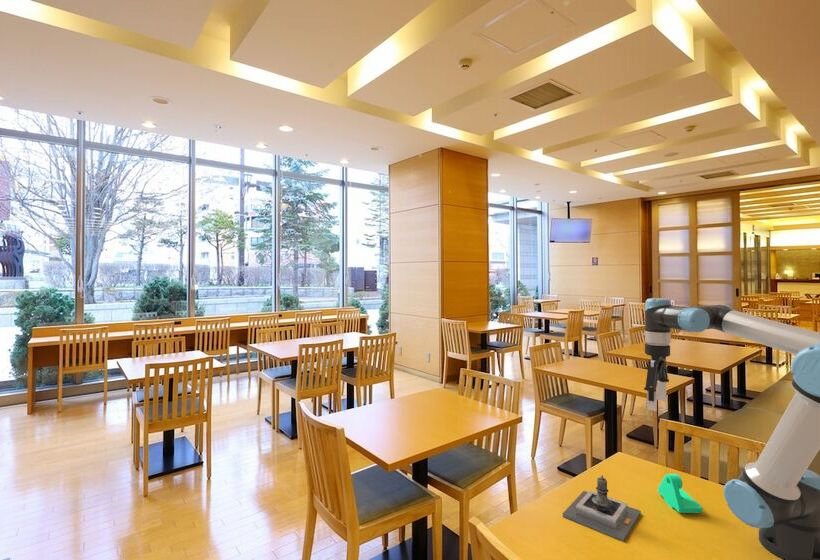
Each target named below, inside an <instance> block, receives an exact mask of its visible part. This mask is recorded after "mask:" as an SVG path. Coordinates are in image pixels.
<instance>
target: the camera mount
mask: <svg viewBox="0 0 820 560" xmlns="http://www.w3.org/2000/svg"><path fill="white" fill-rule="evenodd" d="M657 492H658V493H659V495H660V496H662V498H663V501H664V502H665V503H666V504H667V505H668V506H669V507H670V508H671V509H672V510H673V509H674V510H676V511H677V513H679V514H680V513H686V514H687V513H688V514H693V513H694V514H701V513H703V506H702V505H700V503H699V502H697V501H696V500H695V499H694V498H693V497H691V496H690V495H689V493H687V491H685V490H684V489H683V480H682V477H681V476H680V475H679V474H677V473H666V474H665V475H664V477H662V480H661V482H660V483H659V486H658V488H657Z"/></svg>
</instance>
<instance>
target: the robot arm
mask: <svg viewBox="0 0 820 560" xmlns="http://www.w3.org/2000/svg"><path fill="white" fill-rule="evenodd" d="M672 329H673V330H679V331H683V332H688V333H703V332H704V331H706V330H716V331H719V332H722V333H726V334H729V335H732V336H736V337H738V338H742V339H745V340H748V341H751V342H754V343H757V344H760V345H762V346H763V345H764V346H767V347H770V348H772V349H775V350H779V351H782V352H785V353H788V354H791V355H794V357H793V359H792V361H791V364H790V373H791V374H792V375H793V377H792V381H791V387H792V389H793V390H794V394H793V397H792V399H791V400H790V402H789V403H788V406H787V407H786V409H785V411H784V413H783V414H782V416H781V417H780V420H779V421H778V423H777V424H776V427H775V428H774V430H773V432H772V433H771V435H770V438H769V439H768V441H767V443H766V445H765V446H764V448H763V450H762V451H761V452H760V455H759V456H758V458H757V460H756V461H751V462H747V464H745V466H744V467H743V469H742V470H741V473H740V474H739V476H738V477H737V478H734V479H733V478H732V479H731V480H729V481H727V482H725V485H724V486H723V497H724V498H723V499H724V500H725V502H726V503H727V504H726V505H727V506H728V508H729V510H730V511H731V512H732V514H734V516H735V517H736V518H737V519H739V520H740V522H742V523H743V524H745V525H747V526H749V527H750V528H751V527H752V528H755V529H758V540H759V543H760V545H762V547H764V549H766V550H767V551H768V552H770V553H771V554H773V555H774V556H777V557H779V558H780V559H782V560H784V559H785V560H820V474H818V473H817V472H814V471H812V470H810V469H808V468H809V467H810V465H811V464H812V462H813V460H814V459H815V457H816V456H817V454H818V453H819V451H820V332H818V331H815V330H811V329H807V328H803V327H800V326H796V325H795V326H794V325H791V324H787V323H785V322H780V321H777V320H773V319H769V318H765V317H761V316H757V315H753V314H749V313H746V312H741V311H738V310H736V309H734V308H733V307H732V306H729V305H725V304H724V305H723V304H713V305H698V306H697V305H695V306H693V305H692V306H678V305H672V301H671V300H670V299H669V298H664V297H663V298H662V297H661V298H660V297H658V298H657V297H651V298H646V300H645V306H644V332H643V333H642V335H643V336H644V342H645V343H644V354H645V355H647V356H650V357H651V358H650V359H648V361H647V370H646V372H647V373H646V381H645V386H644V388H643V390H644V391H646V410H648V411H653V412H658V411H657V410H658V407H657V406H658V405H657V404H658V403H657V402H658V401H662V402H666V401H667V383H669V382H670V379H669V377H668V375H669V374H668V368H667V366H668V365H667V357H670V356H671V345H670V344H671V343H672V342H671V340H672V338H671V335H672V334H671V333H672V332H671V331H672Z"/></svg>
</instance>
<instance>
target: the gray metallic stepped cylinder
mask: <svg viewBox="0 0 820 560" xmlns="http://www.w3.org/2000/svg"><path fill="white" fill-rule="evenodd" d="M595 489H596V493H597V496H595V497H593V498H592V501H593V504H594V506H595V508H594V510H596V511H599V512H602V513H604V514H607V515H610V516H611V512H610V511H609V510H610V508H611V506H612V502H611V501H610V500H609V499H608V498H607V497H608V492H609V489H608V481H607V479H606V478H604V476H603V475H600V477H597V480H596V487H595Z"/></svg>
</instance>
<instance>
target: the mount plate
mask: <svg viewBox="0 0 820 560" xmlns="http://www.w3.org/2000/svg"><path fill="white" fill-rule="evenodd" d="M595 496H597V491H596V492H595V491H592V490H589V491H586V490H583V491H582V492H581V493H580V494H579V495H578V496H577V497H576V499H575V500H574V501H573V502H572V503H571V504H570V505H569V506H568V507H567V508H566V509H565V511H563V513H562V517H563V518H565V519H567V520H570V521H572V522H575V523H578V524H580V525H582V526H585V527H587V528H589V529H592V530H594V531H597V532H600V533H602V534H604V535H606V536H609V537H611V538H614V539H617V540H619V541H621V542H625V541H626V539H627V537H628V536H629V534H630V532H631V531H632V529H633V527H634V526H635V524H636V523H637V521H638V520H639V518H640V516H641V515H642V511H641V510H639V509H637V508H633V507H631V506H629V504H628V503H626V502H624V501H622V500H621V501H620V500H618V499H616V498H612V497H609V496H607V498H608V499H609V500H610V501H611V502H612V506H611V508H610V510H609V511H610V512H611V516H610V515H607V514H604V513H602V512H599V511H596V510H594V508H595V506H594V504H593V501H592V498H593V497H595Z"/></svg>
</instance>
